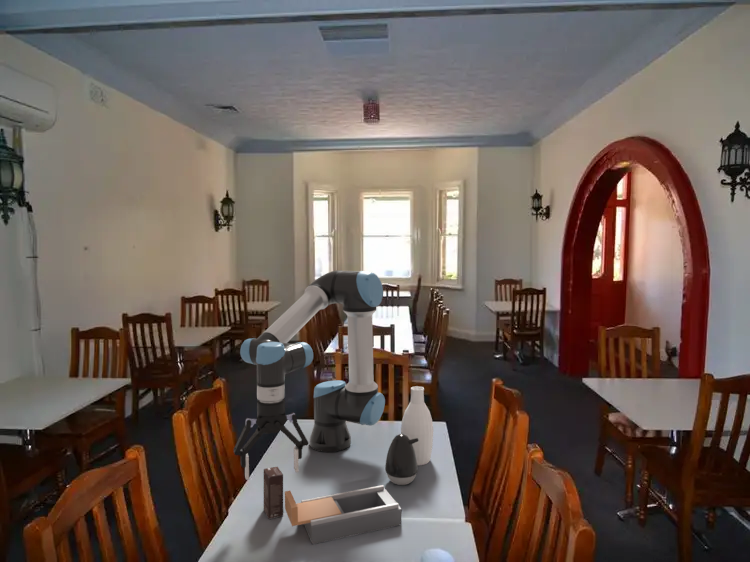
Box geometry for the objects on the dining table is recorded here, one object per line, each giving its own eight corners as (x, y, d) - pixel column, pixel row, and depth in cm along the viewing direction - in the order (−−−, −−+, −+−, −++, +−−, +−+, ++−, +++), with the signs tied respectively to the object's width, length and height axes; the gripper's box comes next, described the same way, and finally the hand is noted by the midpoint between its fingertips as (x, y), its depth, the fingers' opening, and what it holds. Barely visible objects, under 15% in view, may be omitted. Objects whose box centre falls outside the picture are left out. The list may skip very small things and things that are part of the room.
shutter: (285, 508, 141) (284, 491, 140) (331, 499, 145) (331, 483, 145) (292, 526, 132) (291, 508, 132) (341, 516, 137) (341, 498, 137)
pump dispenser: (416, 490, 160) (416, 442, 158) (382, 487, 162) (382, 439, 160) (420, 475, 170) (420, 429, 168) (388, 472, 172) (388, 427, 170)
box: (284, 515, 146) (283, 474, 145) (268, 519, 144) (267, 477, 143) (278, 505, 151) (277, 465, 150) (263, 509, 149) (262, 468, 148)
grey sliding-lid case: (300, 518, 145) (300, 499, 144) (383, 501, 154) (383, 483, 153) (312, 544, 133) (312, 523, 132) (401, 524, 141) (401, 505, 141)
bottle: (424, 470, 173) (424, 395, 171) (394, 462, 179) (395, 389, 177) (438, 457, 183) (439, 386, 180) (410, 450, 189) (410, 381, 186)
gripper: (225, 408, 136) (226, 487, 138) (318, 398, 145) (319, 472, 147) (222, 400, 143) (224, 475, 145) (312, 390, 152) (312, 461, 154)
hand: (271, 474), depth 146 cm, fingers open, 13 cm apart
